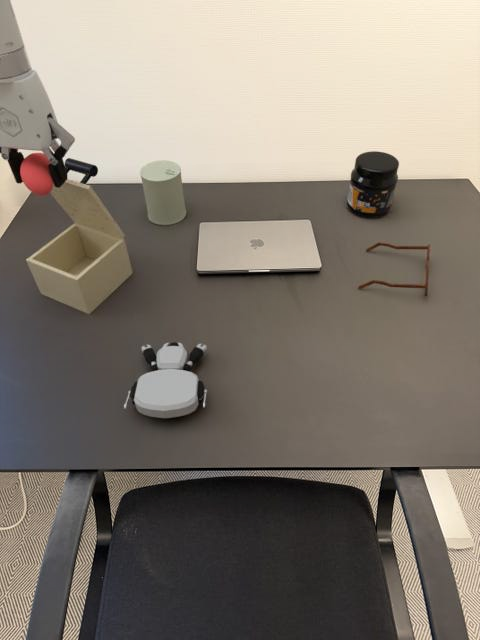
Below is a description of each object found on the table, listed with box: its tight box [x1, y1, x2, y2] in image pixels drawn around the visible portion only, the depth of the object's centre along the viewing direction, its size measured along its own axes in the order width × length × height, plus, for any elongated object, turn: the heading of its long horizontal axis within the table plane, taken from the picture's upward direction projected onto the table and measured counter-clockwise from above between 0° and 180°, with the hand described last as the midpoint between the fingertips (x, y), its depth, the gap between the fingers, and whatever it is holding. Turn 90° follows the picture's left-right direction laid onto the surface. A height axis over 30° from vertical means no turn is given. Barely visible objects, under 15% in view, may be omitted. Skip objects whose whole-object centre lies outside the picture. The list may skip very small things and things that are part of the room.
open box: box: [25, 222, 133, 315], centre depth 93 cm, size 14×13×9 cm
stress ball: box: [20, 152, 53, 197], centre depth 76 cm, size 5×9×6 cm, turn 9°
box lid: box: [49, 157, 126, 239], centre depth 88 cm, size 14×13×6 cm
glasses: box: [358, 242, 431, 297], centre depth 94 cm, size 13×13×5 cm
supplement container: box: [346, 150, 400, 219], centre depth 109 cm, size 10×10×12 cm
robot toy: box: [123, 341, 208, 419], centre depth 76 cm, size 12×4×15 cm
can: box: [139, 160, 187, 226], centre depth 108 cm, size 9×9×12 cm
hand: (42, 180), depth 77 cm, fingers closed on stress ball, 6 cm apart
